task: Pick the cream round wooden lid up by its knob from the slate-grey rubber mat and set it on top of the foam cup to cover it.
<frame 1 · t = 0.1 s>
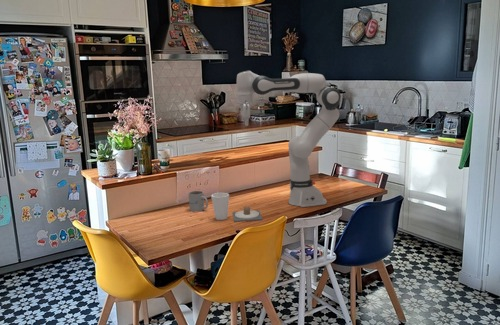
hand: (246, 124, 243), 48 cm above the table, tool pointing down, fingers open, 8 cm apart
mug: (199, 210, 248), on the table
lid: (247, 215, 233), point 1 cm above the table, touching mat
mat: (247, 216, 233), on the table
foam cup: (221, 218, 232), on the table
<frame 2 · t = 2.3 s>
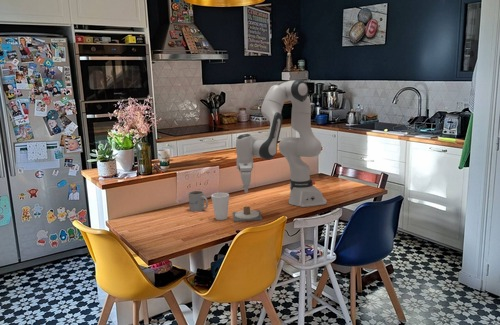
hand: (245, 190, 230), 15 cm above the table, tool pointing down, fingers open, 8 cm apart
nothing on the table moved.
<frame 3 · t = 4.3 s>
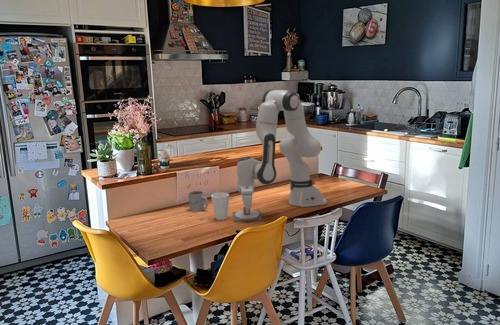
hand: (246, 211, 232), 3 cm above the table, tool pointing down, fingers closed on lid, 4 cm apart
lid: (247, 215, 233), point 1 cm above the table, touching gripper, mat
everything else where it was.
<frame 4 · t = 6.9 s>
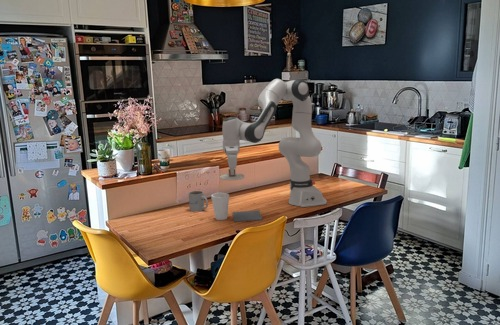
hand: (232, 173, 228), 24 cm above the table, tool pointing down, fingers closed on lid, 4 cm apart
lid: (232, 177, 228), point 22 cm above the table, touching gripper
everything else where it was.
when the fingers open (17 cm above the table, at t = 9.3 s): lid drops 2 cm, resting on foam cup.
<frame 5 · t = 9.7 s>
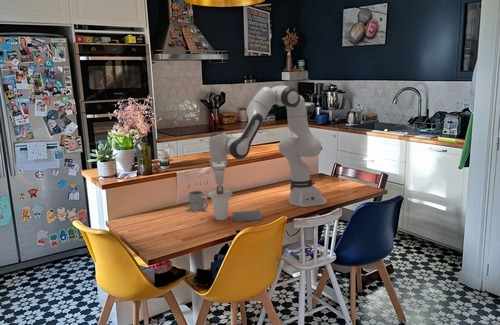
hand: (219, 188, 229), 17 cm above the table, tool pointing down, fingers open, 8 cm apart
lid: (220, 195, 229), point 13 cm above the table, touching foam cup
foam cup: (221, 218, 232), on the table, touching lid
everything else where it was.
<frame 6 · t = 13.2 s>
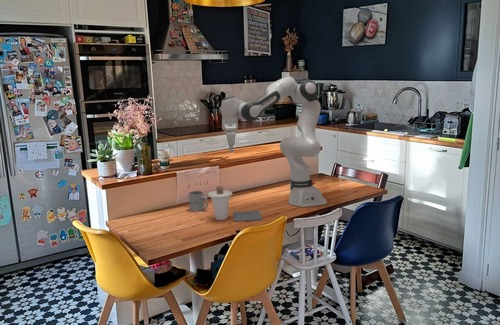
hand: (231, 151, 240), 34 cm above the table, tool pointing down, fingers open, 8 cm apart
nothing on the table moved.
at the end: lid 0.1 cm from the foam cup (horizontally); lid point 13.0 cm above the table; the gripper is holding nothing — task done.
